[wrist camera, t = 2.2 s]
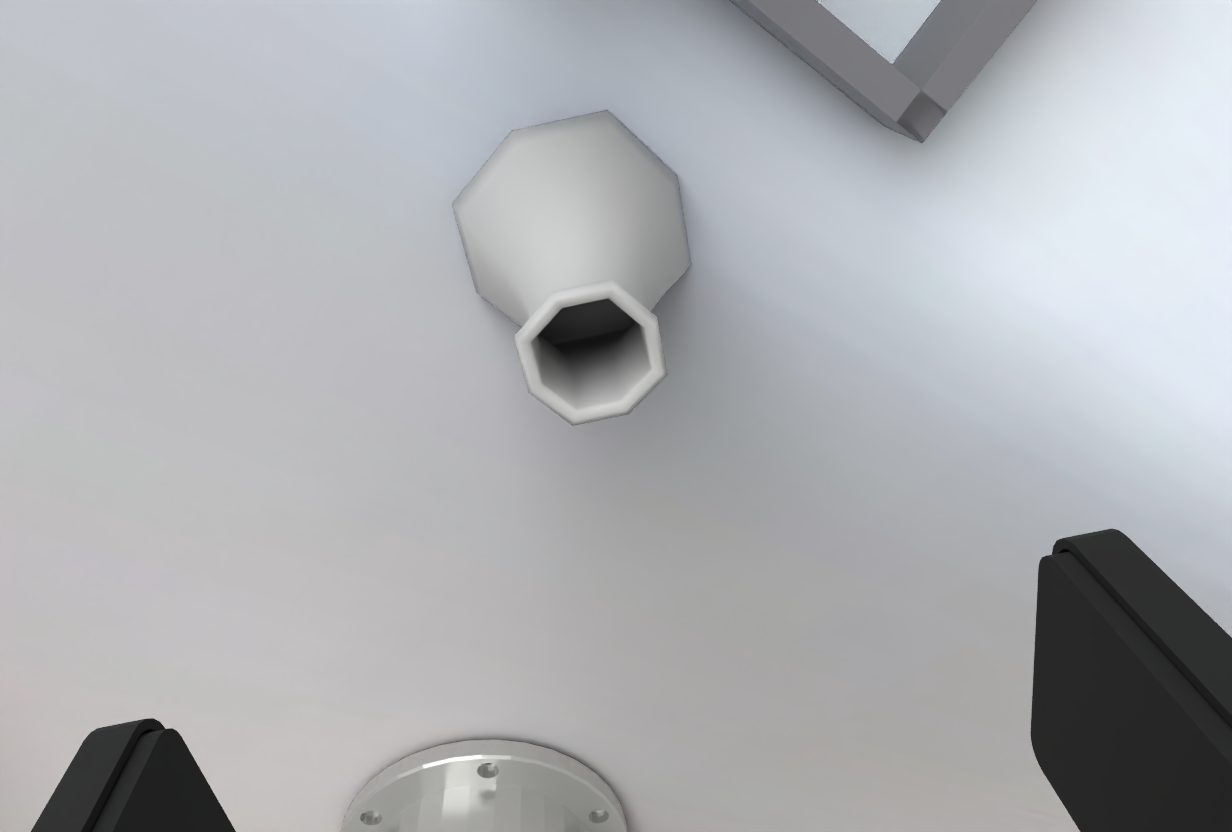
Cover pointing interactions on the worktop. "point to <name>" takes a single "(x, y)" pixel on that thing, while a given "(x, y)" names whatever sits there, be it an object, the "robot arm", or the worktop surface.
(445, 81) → the worktop surface
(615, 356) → the flask
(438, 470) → the worktop surface
